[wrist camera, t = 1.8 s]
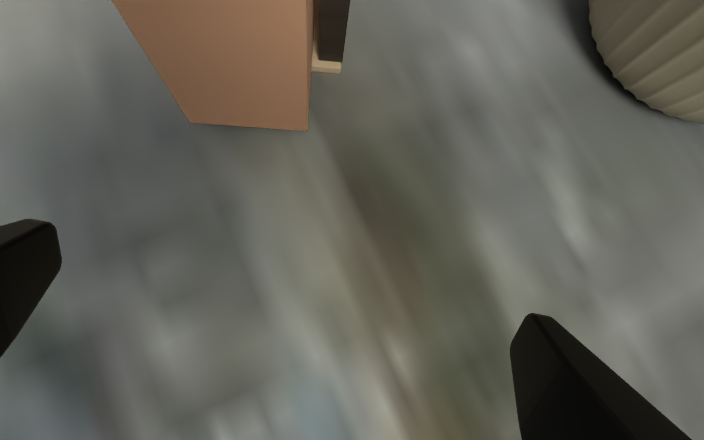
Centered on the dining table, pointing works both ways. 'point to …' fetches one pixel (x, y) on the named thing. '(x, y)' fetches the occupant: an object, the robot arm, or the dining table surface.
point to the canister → (655, 51)
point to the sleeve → (329, 34)
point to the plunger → (230, 57)
